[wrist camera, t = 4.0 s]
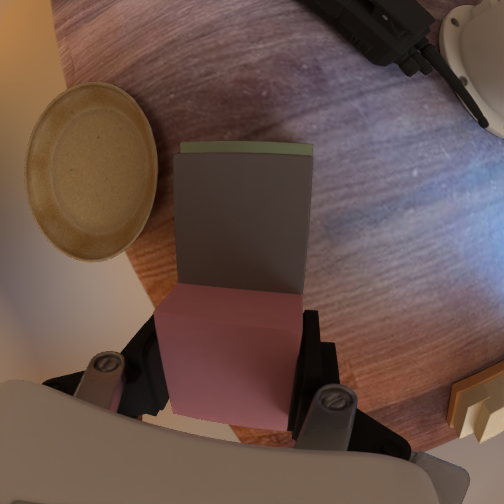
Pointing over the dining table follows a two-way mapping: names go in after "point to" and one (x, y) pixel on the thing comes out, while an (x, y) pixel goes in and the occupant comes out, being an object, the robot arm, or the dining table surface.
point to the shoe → (478, 404)
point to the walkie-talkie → (392, 37)
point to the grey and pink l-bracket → (236, 286)
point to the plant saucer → (91, 171)
